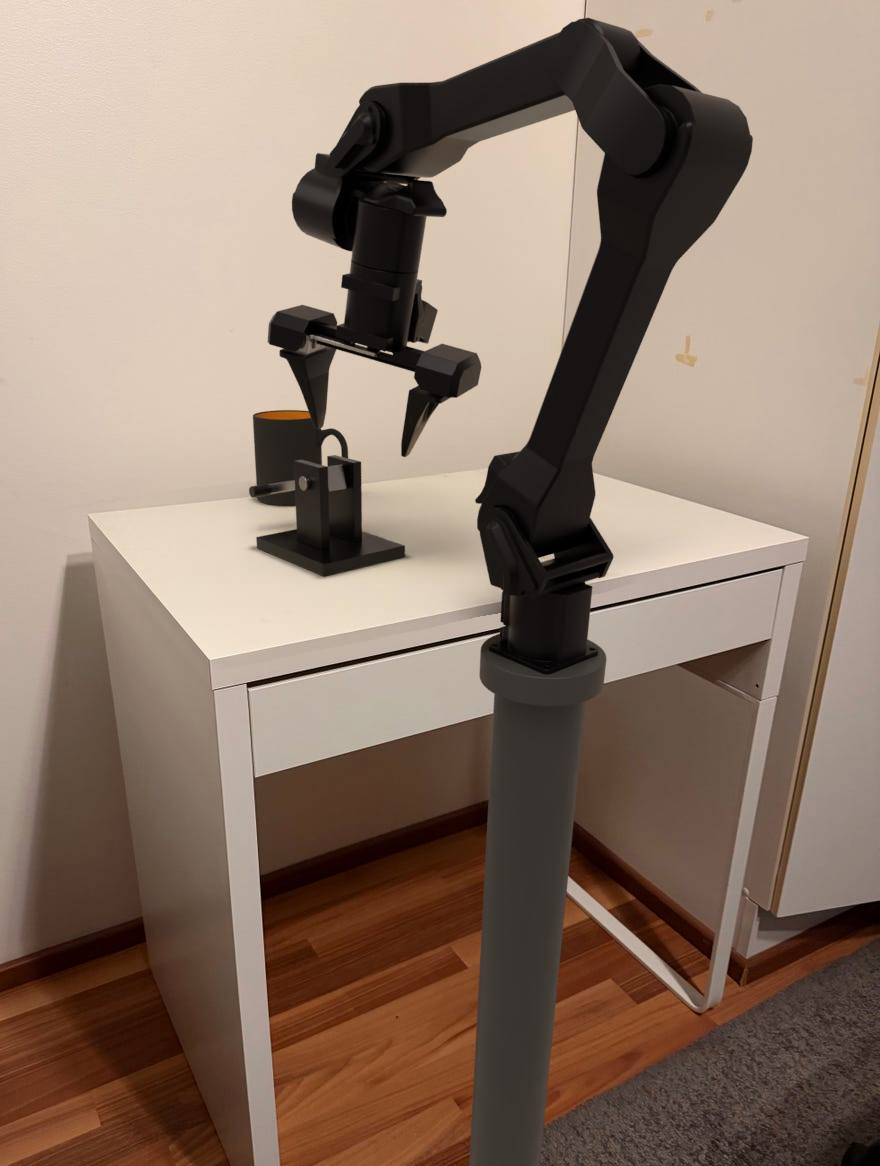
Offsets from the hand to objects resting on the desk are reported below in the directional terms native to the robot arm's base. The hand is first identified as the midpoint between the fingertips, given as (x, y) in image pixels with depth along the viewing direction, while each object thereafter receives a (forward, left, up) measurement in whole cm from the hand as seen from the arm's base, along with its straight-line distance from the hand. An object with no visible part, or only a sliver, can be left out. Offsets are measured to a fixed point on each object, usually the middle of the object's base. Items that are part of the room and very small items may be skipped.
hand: (361, 441), depth 81 cm
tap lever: (+9, +1, -7) cm, 11 cm away
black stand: (+4, +1, -12) cm, 13 cm away
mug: (+25, -10, -12) cm, 30 cm away
